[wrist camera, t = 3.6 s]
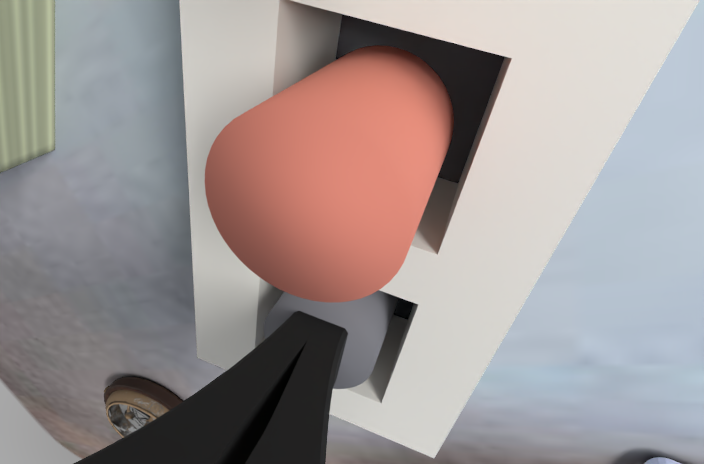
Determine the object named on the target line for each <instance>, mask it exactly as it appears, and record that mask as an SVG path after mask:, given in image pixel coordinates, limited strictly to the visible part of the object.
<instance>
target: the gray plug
mask: <svg viewBox="0 0 704 464" xmlns="http://www.w3.org/2000/svg"><path fill="white" fill-rule="evenodd" d="M398 300H399V297H396V296H394V295H391V294H388V293H385V292H383V291H380V290H378V291H376V292H374V293H373V294H371V295H368V296H366V297H363V298H361V299H357V300H353V301H347V302H319V301H312V300H308V299H303V298H300V297H297V296H294V295H291V294H289V293H287V292H283V294H282V295H281V297H280V298H279V299H278V301H277V302H276V304H275V305H274V306H273V308H272V309H271V311H270V312H269V314H268V315H267V317H266V319H265V322H264V336H265V339H266V338H268V337H269V336H270V335H271V334H272V333H273V332H274V331H275V330H277V329H278V328H279V327H280V326H281V325H282V324H283V323H284V322H285V321H286V320H287V319H288V318H289V317H290V316H291V315H292V314H293V313H294V312H297V311H301V312H304V313H306V314H309V315H312V316H314V317H317V318H319V319H322V320H325V321H327V322H330V323H332V324H335V325H338V326H340V327H343V328H345V329H346V331H347V332H348V336H347V340H346V344H345V348H344V352H343V355H342V359H341V363H340V367H339V371H338V375H337V379H336V381H335V384H334V387H333V389H347V388H352V387H355V386H358V385H360V384H362V383H363V382H365V381H366V380H367V379H368V378H369V376H370V375H371V373H372V371H373V369H374V366H375V363H376V360H377V358H378V355H379V352H380V349H381V347H382V344H383V341H384V338H385V336H386V333H387V330H388V327H389V325H390V322H391V319H392V316H393V314H394V311H395V308H396V305H397V303H398Z"/></svg>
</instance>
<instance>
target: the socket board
mask: <svg viewBox="0 0 704 464" xmlns="http://www.w3.org/2000/svg"><path fill="white" fill-rule="evenodd" d="M699 1H700V0H179V4H180V23H181V43H182V63H183V83H184V103H185V123H186V143H187V163H188V183H189V203H190V223H191V243H192V263H193V283H194V303H195V323H196V343H197V358H199V359H201V360H204V361H206V362H208V363H211V364H213V365H215V366H218V367H220V368H222V369H225V370H228V369H230V368H231V367H232V366H234V365H235V364H236V363H237V362H238V361H240V360H241V359H242V358H243V357H245V356H246V355H247V354H248V353H250V352H251V351H252V350H253V349H255V348H256V347H257V346H258V345H259V344H261V343H262V342H263V341H264V340H265V336H264V322H265V319H266V317H267V315H268V314H269V312H270V311H271V309H272V308H273V306H274V305H275V304H276V302H277V301H278V299H279V298H280V297H281V295H282V294H283V292H284V291H282V290H280V289H278V288H276V287H274V286H273V285H271V284H269V283H267V282H266V281H265V280H263V279H262V278H260V277H259V276H257V275H256V274H255V273H254V272H252V271H251V270H250V269H249V268H248V267H247V266H246V265H245V264H243V263H242V262H241V261H240V260H239V259H238V257H237V256H236V255H235V254H234V253H233V252H232V250H231V249H230V248H229V246H228V245H227V244H226V242H225V241H224V239H223V238H222V236H221V234H220V233H219V231H218V229H217V227H216V225H215V223H214V220H213V218H212V216H211V213H210V210H209V207H208V203H207V198H206V192H205V167H206V162H207V157H208V154H209V152H210V149H211V146H212V145H213V143H214V141H215V139H216V137H217V136H218V135H219V133H220V132H221V131H222V130H223V128H224V127H225V126H226V125H228V124H229V123H230V122H231V121H232V120H233V119H235V118H236V117H238V116H240V115H241V114H243V113H245V112H246V111H248V110H250V109H252V108H253V107H255V106H257V105H259V104H260V103H262V102H264V101H266V100H267V99H269V98H271V97H273V96H274V95H276V94H278V93H279V92H281V91H283V90H285V89H286V88H288V87H290V86H292V85H293V84H295V83H297V82H299V81H300V80H302V79H304V78H306V77H307V76H309V75H311V74H313V73H314V72H316V71H318V70H320V69H321V68H323V67H325V66H327V65H328V64H330V63H332V62H333V61H335V59H336V53H337V46H338V39H339V33H340V26H341V19H342V14H344V15H348V16H352V17H355V18H359V19H363V20H367V21H371V22H375V23H378V24H382V25H386V26H390V27H394V28H397V29H401V30H405V31H409V32H413V33H417V34H420V35H424V36H428V37H432V38H436V39H439V40H443V41H447V42H451V43H455V44H459V45H462V46H466V47H470V48H474V49H478V50H481V51H485V52H489V53H493V54H497V55H501V56H504V57H505V58H504V61H503V63H502V66H501V69H500V72H499V74H498V77H497V80H496V82H495V85H494V88H493V91H492V93H491V96H490V99H489V101H488V104H487V107H486V109H485V112H484V115H483V118H482V120H481V123H480V126H479V128H478V131H477V134H476V137H475V139H474V142H473V145H472V147H471V150H470V153H469V156H468V158H467V161H466V164H465V166H464V169H463V172H462V174H461V177H460V180H459V183H455V182H452V181H448V180H445V179H442V178H439V177H437V179H436V182H435V184H434V187H433V189H432V192H431V195H430V197H429V200H428V202H427V205H426V207H425V210H424V213H423V215H422V218H421V220H420V223H419V225H418V228H417V230H416V233H415V236H414V238H413V241H412V243H411V246H410V248H409V251H408V253H407V256H406V258H405V261H404V263H403V265H402V266H401V268H400V270H399V271H398V273H397V274H396V275H395V276H394V277H393V278H392V280H391V281H390V282H389V283H387V284H386V285H385V286H384V287H382V288H381V289H380V291H383V292H385V293H388V294H391V295H394V296H396V297H399V298H402V299H404V300H407V301H410V302H413V303H414V305H413V307H412V310H411V313H410V315H409V318H408V320H407V319H404V318H402V317H399V316H396V315H394V314H393V316H392V319H391V322H390V325H389V327H388V330H387V333H386V336H385V338H384V341H383V344H382V347H381V349H380V352H379V355H378V358H377V360H376V363H375V366H374V369H373V371H372V373H371V375H370V376H369V378H368V379H367V380H366V381H365V382H363V383H362V384H360V385H358V386H355V387H352V388H347V389H333V390H332V397H331V405H330V412H329V414H331V415H333V416H335V417H338V418H340V419H343V420H345V421H347V422H350V423H352V424H354V425H357V426H359V427H361V428H364V429H366V430H368V431H371V432H373V433H376V434H378V435H380V436H383V437H385V438H387V439H390V440H392V441H394V442H397V443H399V444H401V445H404V446H406V447H409V448H411V449H413V450H416V451H418V452H420V453H423V454H425V455H427V456H430V457H432V458H435V456H436V454H437V453H438V451H439V449H440V448H441V446H442V444H443V442H444V441H445V439H446V437H447V435H448V434H449V432H450V430H451V429H452V427H453V425H454V423H455V422H456V420H457V418H458V416H459V415H460V413H461V411H462V410H463V408H464V406H465V404H466V403H467V401H468V399H469V397H470V396H471V394H472V392H473V391H474V389H475V387H476V385H477V384H478V382H479V380H480V379H481V377H482V375H483V373H484V372H485V370H486V368H487V366H488V365H489V363H490V361H491V360H492V358H493V356H494V354H495V353H496V351H497V349H498V347H499V346H500V344H501V342H502V341H503V339H504V337H505V335H506V334H507V332H508V330H509V328H510V327H511V325H512V323H513V322H514V320H515V318H516V316H517V315H518V313H519V311H520V310H521V308H522V306H523V304H524V303H525V301H526V299H527V297H528V296H529V294H530V292H531V291H532V289H533V287H534V285H535V284H536V282H537V280H538V278H539V277H540V275H541V273H542V272H543V270H544V268H545V266H546V265H547V263H548V261H549V259H550V258H551V256H552V254H553V253H554V251H555V249H556V247H557V246H558V244H559V242H560V240H561V239H562V237H563V235H564V234H565V232H566V230H567V228H568V227H569V225H570V223H571V222H572V220H573V218H574V216H575V215H576V213H577V211H578V209H579V208H580V206H581V204H582V203H583V201H584V199H585V197H586V196H587V194H588V192H589V190H590V189H591V187H592V185H593V184H594V182H595V180H596V178H597V177H598V175H599V173H600V171H601V170H602V168H603V166H604V165H605V163H606V161H607V159H608V158H609V156H610V154H611V152H612V151H613V149H614V147H615V146H616V144H617V142H618V140H619V139H620V137H621V135H622V134H623V132H624V130H625V128H626V127H627V125H628V123H629V121H630V120H631V118H632V116H633V115H634V113H635V111H636V109H637V108H638V106H639V104H640V102H641V101H642V99H643V97H644V96H645V94H646V92H647V90H648V89H649V87H650V85H651V83H652V82H653V80H654V78H655V77H656V75H657V73H658V71H659V70H660V68H661V66H662V65H663V63H664V61H665V59H666V58H667V56H668V54H669V52H670V51H671V49H672V47H673V46H674V44H675V42H676V40H677V39H678V37H679V35H680V33H681V32H682V30H683V28H684V27H685V25H686V23H687V21H688V20H689V18H690V16H691V14H692V13H693V11H694V9H695V8H696V6H697V4H698V2H699Z"/></svg>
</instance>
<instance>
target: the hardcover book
mask: <svg viewBox="0 0 704 464" xmlns="http://www.w3.org/2000/svg"><path fill="white" fill-rule="evenodd" d="M53 150H55V0H0V173H1V172H4V171H6V170H8V169H11V168H13V167H15V166H18V165H20V164H22V163H25V162H27V161H29V160H32V159H34V158H37V157H39V156H41V155H44V154H46V153H48V152H51V151H53Z"/></svg>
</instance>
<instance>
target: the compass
mask: <svg viewBox="0 0 704 464" xmlns="http://www.w3.org/2000/svg"><path fill="white" fill-rule="evenodd" d="M104 392H105V393H104V402H105V404H106V415H107V417H108V420H109V422H110V423H111V425H112V427H113V428H114V429H115V430H116V431H117V433H118V434H119V435H120V436H122V437H123V438H124V437H126V436H127V435H129V434H131V433H132V432H134V431H136V430H138V429H139V428H141V427H143V426H145V425H146V424H148V423H150V422H151V421H153V420H155V419H156V418H158V417H160V416H161V415H163V414H164V413H166V412H168V411H169V410H171V409H172V408H174V407H176V406H177V405H179V404H180V403H182V402H183V401H182V400H181V399H180V398H179V397H177V396H176V395H175V394H173V393H172V392H170V391H169V390H167V389H166V388H164V387H162V386H160V385H158V384H156V383H154V382H151V381H149V380H145V379H142V378H138V377H122V378H120V379H117V380H115V381H114V382H113V383H112V384H111V385H110V386H108V387H107V388H106V389H105V390H104Z"/></svg>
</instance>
